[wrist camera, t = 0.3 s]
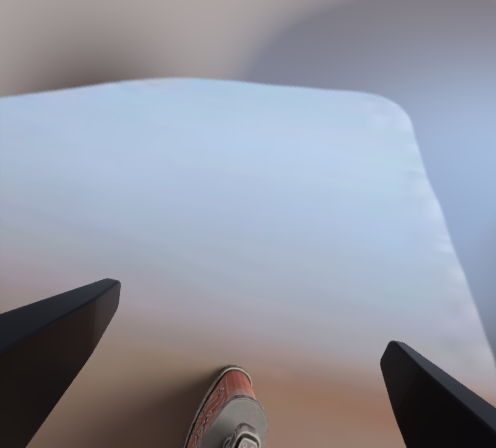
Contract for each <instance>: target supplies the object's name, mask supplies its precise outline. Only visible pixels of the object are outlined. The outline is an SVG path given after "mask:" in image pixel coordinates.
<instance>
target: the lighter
mask: <svg viewBox="0 0 496 448" xmlns="http://www.w3.org/2000/svg"><path fill="white" fill-rule="evenodd" d="M267 430H268V421H267V417H266V414H265V411H264V409H263V407H262V406H261V404H260V403H259V401H257V400H256V398H255V395H254V393H253V390H252V382H251V378H250V376H249V374H248V373H247V371H246V370H245V369H244V368H242V367H240V366H237V365H230V366H227V367H225V368H224V369H223V370H222V371H221V372H220V374H219V375H218V377H217V378H216V379H215V381H214V382H213V384H212V385H211V386H210V388H209V389H208V391H207V393H206V395H205V396H204V398H203V400H202V402H201V404H200V405H199V407H198V409H197V411H196V414H195V416H194V419H193V421H192V424H191V426H190V428H189V431H188V434H187V437H186V441H185V444H184V447H183V448H264V444H265V439H266V435H267Z"/></svg>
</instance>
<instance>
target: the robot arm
mask: <svg viewBox="0 0 496 448" xmlns="http://www.w3.org/2000/svg"><path fill="white" fill-rule="evenodd" d="M120 288H121V283H120V281H118V280H114V279H109V278H106V279H103V280H100V281H97V282H94V283H91V284H88V285H85V286H82V287H79V288H76V289H73V290H70V291H67V292H64V293H61V294H58V295H55V296H52V297H50V298H47V299H44V300H41V301H38V302H35V303H32V304H29V305H26V306H23V307H20V308H17V309H14V310H11V311H8V312H5V313H2V314H0V448H26V446H27V445H28V443H29V442H30V440H31V439H32V438H33V436H34V435H35V433H36V432H37V431H38V429H39V428H40V426H41V425H42V424H43V422H44V421H45V419H46V418H47V417H48V415H49V414H50V412H51V411H52V410H53V408H54V407H55V405H56V404H57V403H58V401H59V400H60V398H61V397H62V395H63V394H64V393H65V391H66V390H67V388H68V387H69V386H70V384H71V383H72V381H73V380H74V379H75V377H76V376H77V374H78V373H79V372H80V370H81V369H82V367H83V366H84V365H85V363H86V362H87V360H88V359H89V357H90V356H91V354H92V353H93V351H94V349H95V348H96V346H97V344H98V342H99V341H100V339H101V337H102V335H103V333H104V332H105V330H106V328H107V326H108V325H109V323H110V321H111V319H112V317H113V316H114V314H115V312H116V310H117V308H118V304H119V296H120ZM380 366H381V370H382V374H383V377H384V381H385V385H386V388H387V392H388V395H389V399H390V402H391V406H392V409H393V412H394V415H395V418H396V421H397V424H398V427H399V429H400V432H401V434H402V437H403V440H404V442H405V445H406V448H496V408H495V407H494V406H492V405H491V404H489V403H488V402H487V401H485V400H484V399H482V398H481V397H480V396H478V395H477V394H475V393H474V392H473V391H471V390H470V389H468V388H467V387H466V386H464V385H463V384H461V383H460V382H459V381H457V380H456V379H454V378H453V377H452V376H450V375H449V374H447V373H446V372H445V371H443V370H442V369H440V368H439V367H438V366H436V365H435V364H433V363H432V362H431V361H429V360H428V359H426V358H425V357H423V356H422V355H421V354H419V353H418V352H416V351H415V350H414V349H412V348H411V347H409V346H408V345H407V344H405V343H403V342H398V341H390V342H389V344H388V345H387V348H386V350H385V352H384V354H383V356H382V358H381V361H380Z"/></svg>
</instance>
